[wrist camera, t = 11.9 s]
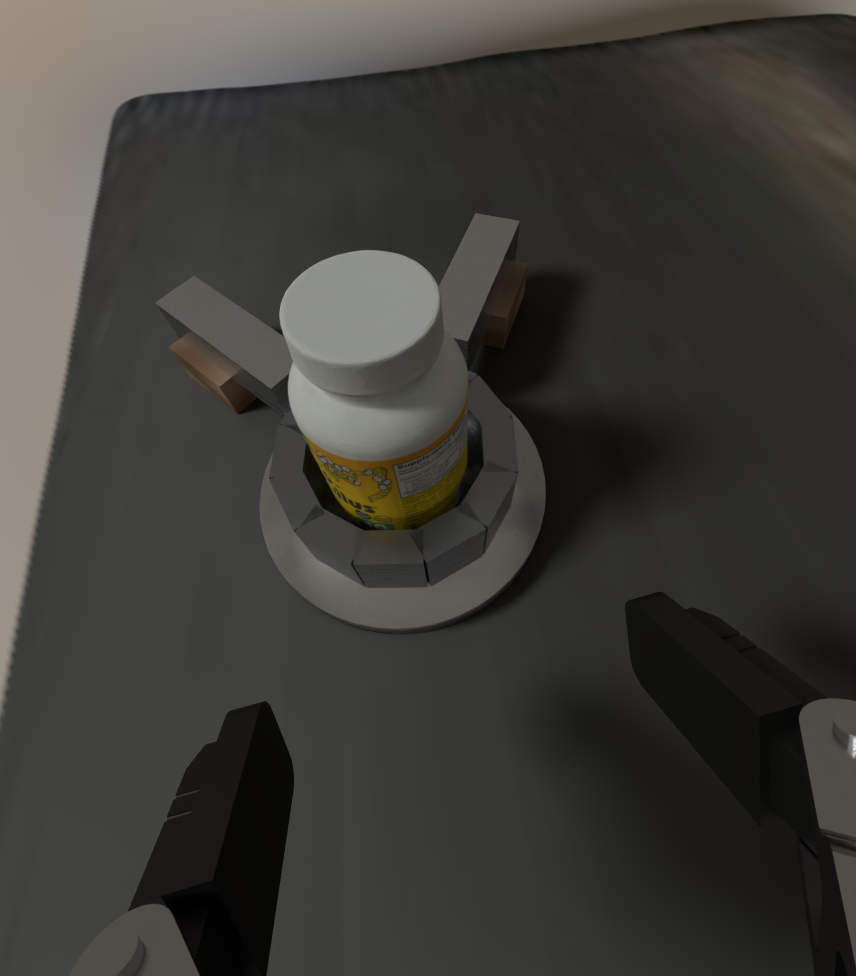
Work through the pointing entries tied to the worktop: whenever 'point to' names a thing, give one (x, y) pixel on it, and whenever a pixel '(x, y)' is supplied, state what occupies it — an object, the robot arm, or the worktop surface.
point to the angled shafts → (264, 352)
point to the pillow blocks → (241, 397)
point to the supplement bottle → (378, 388)
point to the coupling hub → (409, 531)
